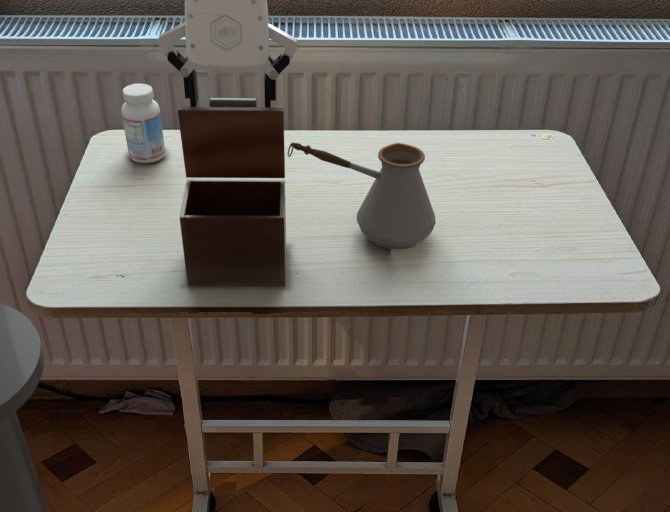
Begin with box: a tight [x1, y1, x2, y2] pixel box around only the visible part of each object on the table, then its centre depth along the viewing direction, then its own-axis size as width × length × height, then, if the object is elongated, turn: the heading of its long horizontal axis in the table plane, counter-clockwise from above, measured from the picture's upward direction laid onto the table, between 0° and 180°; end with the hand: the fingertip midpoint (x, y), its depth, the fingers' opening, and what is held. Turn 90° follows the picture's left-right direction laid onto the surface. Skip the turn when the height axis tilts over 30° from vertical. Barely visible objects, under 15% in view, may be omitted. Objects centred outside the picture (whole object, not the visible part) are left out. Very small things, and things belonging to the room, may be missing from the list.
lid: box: [177, 97, 286, 179], centre depth 109 cm, size 10×13×5 cm
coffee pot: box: [287, 142, 437, 251], centre depth 117 cm, size 21×12×15 cm, turn 96°
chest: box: [179, 178, 287, 287], centre depth 112 cm, size 10×13×11 cm
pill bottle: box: [120, 83, 166, 164], centre depth 134 cm, size 6×6×11 cm
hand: (231, 104), depth 109 cm, fingers open, 9 cm apart
